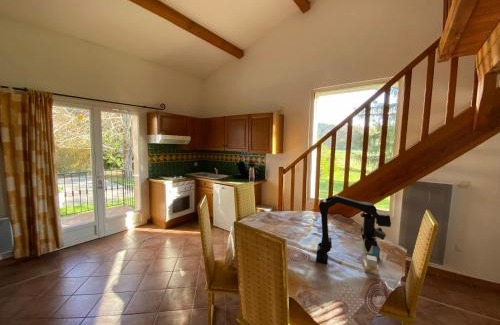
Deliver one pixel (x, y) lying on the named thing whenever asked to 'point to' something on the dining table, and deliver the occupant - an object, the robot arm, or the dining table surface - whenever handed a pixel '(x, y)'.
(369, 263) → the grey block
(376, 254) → the perfume bottle
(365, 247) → the sage cube
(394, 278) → the dining table surface
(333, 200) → the robot arm
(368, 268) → the beech slab
